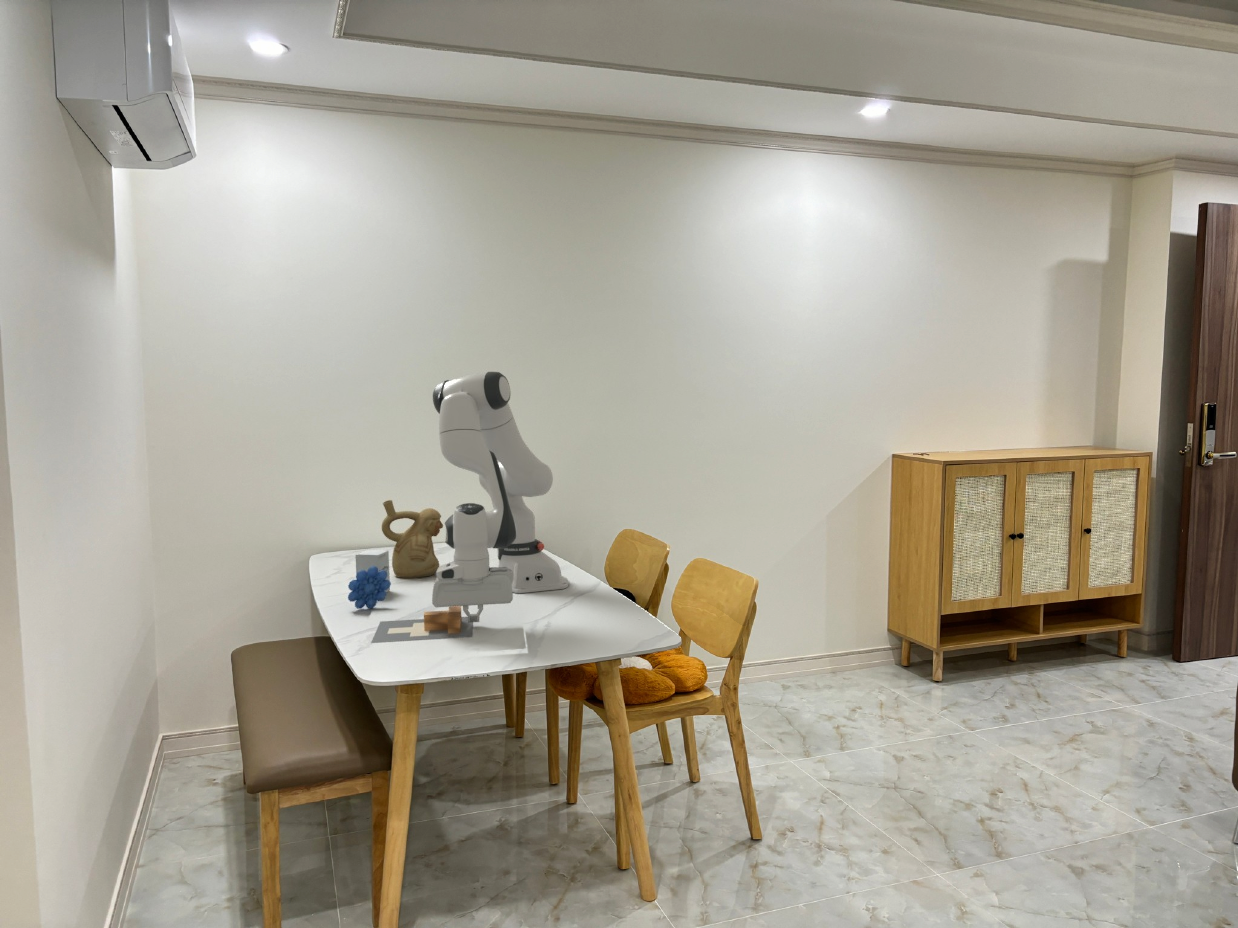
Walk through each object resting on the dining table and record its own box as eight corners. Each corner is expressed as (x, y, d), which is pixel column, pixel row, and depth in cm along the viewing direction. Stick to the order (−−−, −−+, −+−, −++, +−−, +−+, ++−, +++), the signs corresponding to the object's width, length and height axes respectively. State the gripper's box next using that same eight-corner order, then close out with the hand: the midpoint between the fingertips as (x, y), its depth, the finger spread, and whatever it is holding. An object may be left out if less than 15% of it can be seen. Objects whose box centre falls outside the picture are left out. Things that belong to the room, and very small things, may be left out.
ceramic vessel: (449, 576, 276) (446, 500, 273) (386, 583, 268) (383, 504, 266) (440, 565, 291) (437, 493, 289) (380, 571, 284) (377, 497, 281)
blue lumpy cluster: (390, 602, 245) (388, 561, 244) (392, 608, 239) (390, 566, 238) (347, 606, 241) (345, 565, 240) (348, 613, 235) (346, 570, 234)
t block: (461, 621, 222) (461, 606, 222) (460, 632, 212) (459, 616, 212) (426, 623, 221) (425, 608, 220) (423, 634, 211) (422, 618, 211)
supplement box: (379, 597, 251) (377, 555, 250) (356, 596, 253) (354, 554, 251) (391, 590, 259) (389, 549, 257) (368, 589, 260) (366, 549, 259)
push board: (473, 619, 227) (473, 616, 227) (472, 640, 209) (472, 636, 209) (380, 625, 223) (380, 621, 223) (371, 646, 205) (371, 642, 205)
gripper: (512, 563, 221) (514, 615, 222) (431, 567, 218) (433, 620, 219) (513, 569, 215) (515, 622, 216) (430, 573, 211) (432, 627, 213)
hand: (473, 621), depth 218 cm, fingers closed
